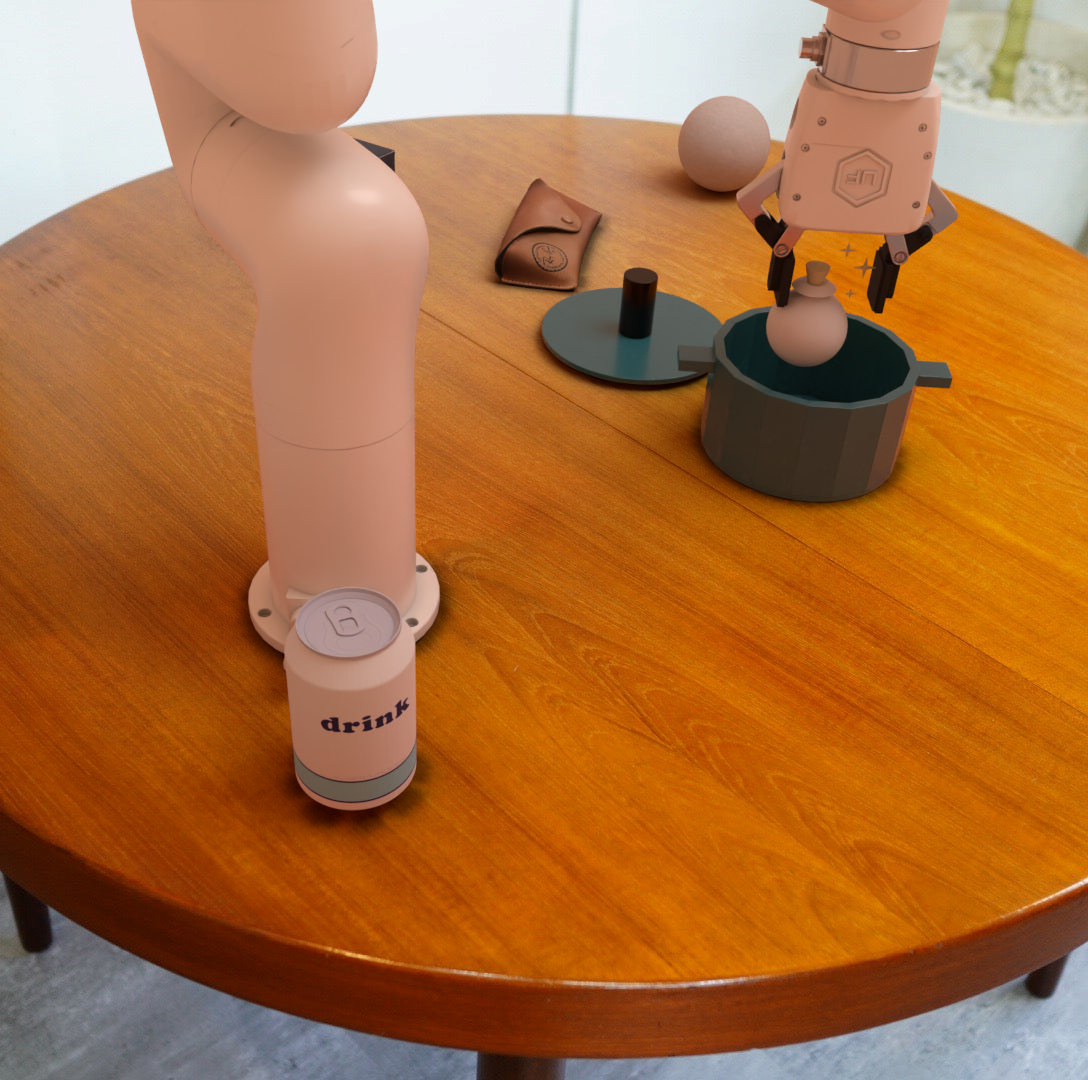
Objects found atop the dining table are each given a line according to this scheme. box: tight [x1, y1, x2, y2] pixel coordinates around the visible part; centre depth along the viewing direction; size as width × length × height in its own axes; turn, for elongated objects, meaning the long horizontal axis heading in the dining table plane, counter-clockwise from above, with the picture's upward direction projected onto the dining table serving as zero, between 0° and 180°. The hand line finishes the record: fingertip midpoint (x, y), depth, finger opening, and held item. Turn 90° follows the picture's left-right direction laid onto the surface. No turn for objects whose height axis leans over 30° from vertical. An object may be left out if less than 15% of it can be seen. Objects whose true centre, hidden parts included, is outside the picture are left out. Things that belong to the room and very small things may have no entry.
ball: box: [677, 95, 771, 193], centre depth 144 cm, size 10×10×10 cm
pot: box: [677, 305, 954, 503], centre depth 104 cm, size 16×21×8 cm
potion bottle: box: [766, 241, 876, 367], centre depth 99 cm, size 6×7×10 cm
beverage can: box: [283, 587, 417, 811], centre depth 73 cm, size 7×7×12 cm
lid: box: [541, 267, 723, 386], centre depth 116 cm, size 17×17×7 cm
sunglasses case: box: [494, 177, 603, 291], centre depth 131 cm, size 18×7×7 cm
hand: (827, 300), depth 99 cm, fingers closed on potion bottle, 6 cm apart
